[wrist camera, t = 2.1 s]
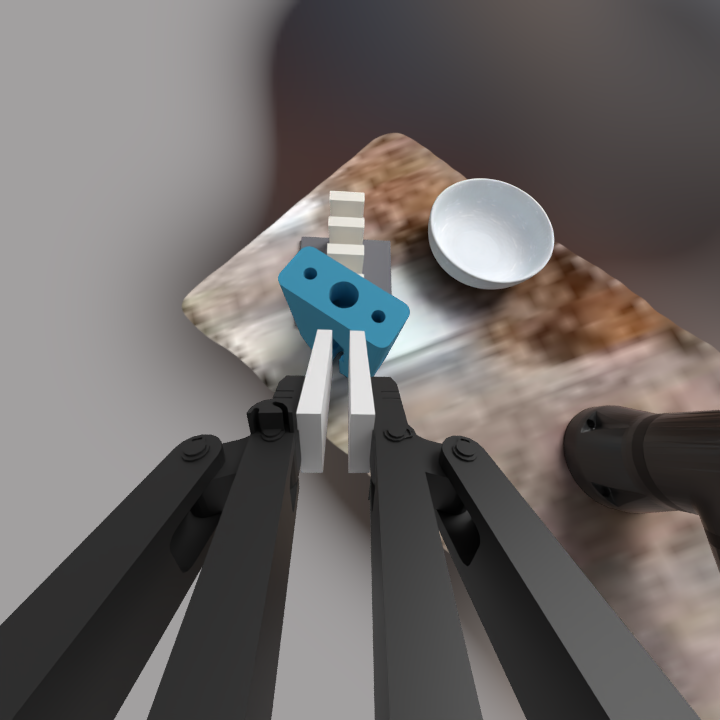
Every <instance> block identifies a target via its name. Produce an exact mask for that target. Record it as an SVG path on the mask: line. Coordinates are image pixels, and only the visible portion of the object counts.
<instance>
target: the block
mask: <svg viewBox="0 0 720 720" xmlns="http://www.w3.org/2000/svg"><path fill="white" fill-rule="evenodd" d="M278 281H279V283H280V286H281V288H282V291H283V293H284V296H285V298H286V300H287V303H288V305H289V308H290V310H291V312H292V315H293V317H294V320H295V322H296V324H297V327H298V329H299V332H300V334H301V336H302V337H303V339H304V340H305V341H306V343H307V344H308V346H309V347H310V348H311V350H312V349H313V345H314V342H315V338H316V334H317V330H332V361H333V359H334V358H335V356H336V355H337V354H338V353H339V352H342V351H343V352H344V355H342V356H341V358H340V359H339V369H340V373H341V374H343V375H344V376H346V377H347V378H348V373H349V344H350V331H364V332H365V339H366V347H367V355H368V363H369V370H370V377H373V376H374V375H375V373H376V372H377V370H378V369H379V367H380V366H381V364H382V363H383V361H384V360H385V358H386V356H387V355H388V353H389V351H390V349H391V347H392V346H393V344H394V342H395V340H396V338H397V337H398V335H399V333H400V331H401V329H402V328H403V326H404V324H405V322H406V320H407V319H408V317H409V315H410V310H409V307H408V306H407V305H406V304H405V303H404V302H402V301H400V300H399V299H397V298H395V297H394V296H392V295H391V294H389V293H387V292H386V291H384V290H382V289H381V288H379V287H378V286H376V285H374V284H373V283H371V282H370V281H368V280H366V279H365V278H363V277H361V276H360V275H358V274H357V273H355V272H353V271H352V270H350V269H348V268H347V267H345V266H344V265H342V264H340V263H339V262H337V261H335V260H334V259H332V258H331V257H329V256H327V255H326V254H324V253H322V252H321V251H319V250H318V249H316V248H314V247H311V246H307V247H304V248H302V249H301V250H300V251H299V252H298V253H297V254H296V256H295V257H294V258H293V259H292V260H291V261H290V262H289V263H288V265H287V266H286V267H285V268H284V269H283V270H282V271H281V273H280V274H279V276H278Z"/></svg>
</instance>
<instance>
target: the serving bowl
mask: <svg viewBox="0 0 720 720" xmlns="http://www.w3.org/2000/svg"><path fill="white" fill-rule="evenodd" d="M428 237H429V243H430V247H431V250H432V252H433V255H434V257H435V258H436V260H437V262H438V263H439V264H440V266H441V267H442V268H443V269H444V270H445V271H446V272H447V273H448V274H449V275H450V276H452V277H453V278H455V279H456V280H458V281H460V282H462V283H464V284H466V285H468V286H472V287H475V288H480V289H503V288H508V287H511V286H514V285H517V284H519V283H521V282H524V281H525V280H527V279H529V278H531V277H532V276H534V275H535V274H537V273H538V272H539V271H540V270H541V269H543V267H544V266H545V265H546V264H547V262H548V261H549V259H550V257H551V255H552V251H553V247H554V234H553V229H552V225H551V223H550V221H549V218H548V216H547V215H546V213H545V211H544V210H543V209H542V207H541V206H540V205H539V204H538V203H537V202H536V201H535V200H534V199H533V198H532V197H531V196H530V195H528V194H527V193H525V192H524V191H522V190H520V189H519V188H517V187H515V186H513V185H510V184H508V183H505V182H502V181H498V180H492V179H469V180H464V181H461V182H458V183H455V184H453V185H451V186H450V187H448V188H447V189H445V190H444V191H443V192H442V193H441V194H440V195H439V196H438V197H437V199H436V200H435V202H434V204H433V206H432V209H431V213H430V218H429V224H428Z"/></svg>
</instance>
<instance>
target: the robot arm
mask: <svg viewBox="0 0 720 720" xmlns="http://www.w3.org/2000/svg"><path fill="white" fill-rule="evenodd" d="M331 382H332V330H317V334H316V338H315V342H314V345H313V349H312V353H311V357H310V361H309V365H308V369H307V373H306V376H286V377H285V378H283V379H282V380H281V381H280V382H279V384H278V386H277V389H276V392H275V394H274V396H273V399H270V400H264V401H261V402H259V403H257V404H255V405H254V406H252V407H251V408H250V409H249V411H248V412H247V418H248V423H249V427H250V432H251V435H250V436H248V437H246V438H243V439H240V440H236V441H231V442H227V443H223V444H222V443H221V441H220V439H219V438H218V437H216V436H213V435H199V436H194V437H192V438H189V439H187V440H185V441H183V442H182V443H181V444H179V445H178V446H177V447H176V448H175V449H173V450H172V451H171V453H170V454H169V455H168V456H167V457H166V458H165V459H164V460H163V461H162V462H161V463H160V464H159V465H158V466H157V467H156V468H155V469H154V470H153V471H152V472H151V473H150V474H149V475H148V476H147V477H146V478H145V479H144V480H143V481H142V482H141V483H140V484H139V485H138V486H137V487H136V488H135V489H134V490H133V491H132V492H131V493H130V494H129V495H128V496H127V497H126V498H125V499H124V500H123V501H122V502H121V503H120V504H119V505H118V506H117V507H116V508H115V510H113V511H112V512H111V513H110V515H109V516H108V517H107V518H106V519H105V520H104V521H103V522H102V523H101V524H100V525H99V526H98V527H97V528H96V529H95V530H94V531H93V532H92V533H91V534H90V535H89V536H88V537H87V538H86V539H85V540H84V541H83V542H82V543H81V544H80V545H79V546H78V547H77V548H76V549H75V550H74V551H73V552H72V553H71V554H70V555H69V556H68V557H67V558H66V559H65V560H64V561H63V562H62V563H61V564H60V565H59V567H58V568H56V569H55V571H53V573H51V575H50V576H49V577H48V578H47V579H46V580H45V581H44V582H43V583H42V584H41V585H40V586H39V587H38V588H37V589H36V590H35V591H34V592H33V593H32V594H31V595H30V596H29V597H28V598H27V599H26V600H25V601H24V602H23V603H22V604H21V605H20V606H19V607H18V608H17V609H16V610H15V611H14V612H13V613H12V614H11V615H10V616H9V617H8V618H7V619H6V620H5V621H4V622H3V623H2V624H1V625H0V720H114V718H115V717H116V715H117V713H118V711H119V710H120V708H121V706H122V705H123V703H124V701H125V699H126V697H127V696H128V694H129V692H130V691H131V689H132V687H133V685H134V684H135V682H136V680H137V679H138V677H139V675H140V673H141V671H142V670H143V668H144V666H145V665H146V663H147V661H148V660H149V658H150V656H151V654H152V653H153V651H154V649H155V647H156V646H157V644H158V642H159V640H160V639H161V637H162V635H163V634H164V632H165V630H166V628H167V627H168V625H169V623H170V621H171V620H172V618H173V616H174V614H175V613H176V611H177V609H178V608H179V606H180V604H181V602H182V601H183V599H184V597H185V596H186V594H187V592H188V590H189V588H190V587H191V585H192V583H193V582H194V580H195V578H196V576H197V575H198V573H199V571H200V570H201V572H200V575H199V578H198V580H197V583H196V586H195V589H194V592H193V594H192V597H191V600H190V603H189V605H188V608H187V611H186V613H185V616H184V619H183V622H182V624H181V627H180V630H179V633H178V635H177V638H176V641H175V644H174V646H173V649H172V652H171V655H170V657H169V660H168V663H167V666H166V668H165V671H164V674H163V677H162V679H161V682H160V685H159V688H158V691H157V693H156V696H155V699H154V701H153V704H152V707H151V710H150V712H149V715H148V718H147V720H271V716H272V708H273V699H274V690H275V683H276V675H277V667H278V658H279V650H280V641H281V633H282V625H283V617H284V609H285V601H286V592H287V583H288V575H289V567H290V559H291V551H292V543H293V534H294V526H295V518H296V509H297V501H298V493H299V478H298V476H299V470H300V466H301V472H302V473H322V472H323V464H324V453H325V443H326V433H327V423H328V413H329V402H330V392H331ZM564 450H565V457H566V461H567V464H568V467H569V469H570V472H571V474H572V476H573V477H574V479H575V480H576V482H577V483H578V485H579V486H580V487H581V488H582V489H583V491H584V492H585V493H586V494H588V495H589V496H590V497H591V498H592V499H594V500H595V501H597V502H599V503H600V504H602V505H604V506H607V507H610V508H613V509H617V510H621V511H624V512H629V513H653V512H666V511H684V512H688V513H693V514H696V515H699V516H700V519H701V522H702V524H703V527H704V530H705V533H706V535H707V538H708V542H709V544H710V547H711V550H712V553H713V556H714V558H715V561H716V564H717V567H718V570H719V572H720V410H712V411H694V412H677V413H663V414H655V413H651V412H646V411H641V410H636V409H631V408H626V407H621V406H599V407H592V408H588V409H585V410H583V411H581V412H580V413H578V414H577V415H576V416H575V417H574V418H573V419H572V421H571V422H570V424H569V426H568V428H567V431H566V434H565V440H564ZM348 461H349V462H348V468H349V469H348V472H349V473H369V472H371V480H370V490H369V499H368V500H370V519H371V564H372V565H371V566H372V610H373V611H372V612H373V656H374V701H375V720H483V718H482V715H481V709H480V705H479V701H478V697H477V692H476V688H475V684H474V680H473V675H472V671H471V667H470V663H469V658H468V654H467V649H466V645H465V641H464V637H463V632H462V628H461V624H460V619H459V615H458V611H457V607H456V602H455V598H454V594H453V589H452V585H451V581H450V577H449V573H448V568H447V564H446V559H445V555H444V551H443V547H442V542H441V538H440V534H439V531H440V533H441V536H442V538H443V540H444V542H445V544H446V546H447V549H448V551H449V553H450V555H451V557H452V559H453V561H454V564H455V566H456V568H457V570H458V572H459V574H460V577H461V579H462V581H463V583H464V585H465V587H466V589H467V592H468V594H469V596H470V598H471V600H472V602H473V605H474V607H475V609H476V611H477V613H478V615H479V617H480V620H481V622H482V624H483V626H484V628H485V630H486V633H487V635H488V637H489V639H490V641H491V643H492V645H493V648H494V650H495V652H496V654H497V656H498V658H499V661H500V663H501V665H502V667H503V669H504V671H505V673H506V676H507V678H508V680H509V682H510V684H511V686H512V689H513V691H514V693H515V695H516V697H517V699H518V702H519V704H520V706H521V708H522V710H523V712H524V714H525V717H526V719H527V720H701V719H700V718H699V717H698V715H697V714H696V713H695V712H694V710H693V709H692V708H691V707H690V705H689V704H688V703H687V702H686V700H685V699H684V698H683V697H682V695H681V694H680V693H679V692H678V690H677V689H676V688H675V687H674V685H673V684H672V683H671V682H670V680H669V679H668V678H667V677H666V675H665V674H664V673H663V672H662V670H661V669H660V668H659V667H658V665H657V664H656V663H655V662H654V660H653V659H652V658H651V657H650V655H649V654H648V653H647V652H646V650H645V649H644V648H643V647H642V645H641V644H640V643H639V642H638V640H637V639H636V638H635V637H634V635H633V634H632V633H631V632H630V631H629V629H628V628H627V627H626V626H625V624H624V623H623V622H622V621H621V619H620V618H619V617H618V616H617V614H616V613H615V612H614V611H613V609H612V608H611V607H610V606H609V604H608V603H607V602H606V601H605V599H604V598H603V597H602V596H601V594H600V593H599V592H598V591H597V589H596V588H595V587H594V586H593V584H592V583H591V582H590V581H589V579H588V578H587V577H586V576H585V574H584V573H583V572H582V571H581V569H580V568H579V567H578V566H577V564H576V563H575V562H574V561H573V559H572V558H571V557H570V556H569V554H568V553H567V552H566V551H565V549H564V548H563V547H562V546H561V544H560V543H559V542H558V541H557V539H556V538H555V537H554V536H553V534H552V533H551V532H550V531H549V530H548V528H547V527H546V526H545V525H544V523H543V522H542V521H541V520H540V518H539V517H538V516H537V515H536V513H535V512H534V511H533V510H532V508H531V507H530V506H529V505H528V503H527V502H526V501H525V500H524V498H523V497H522V496H521V495H520V493H519V492H518V491H517V490H516V488H515V487H514V486H513V485H512V483H511V482H510V481H509V480H508V478H507V477H506V476H505V475H504V473H503V472H502V471H501V470H500V468H499V467H498V466H497V465H496V463H495V462H494V461H493V460H492V458H491V457H490V456H489V455H488V453H487V452H486V451H485V450H484V449H483V448H482V447H481V446H480V445H479V444H478V443H477V442H475V441H473V440H472V439H470V438H467V437H463V436H451V437H448V438H446V439H445V441H444V442H443V444H440V443H436V442H433V441H429V440H426V439H423V438H421V437H419V436H418V435H416V433H415V431H414V429H413V428H412V427H410V426H409V425H408V423H407V420H406V416H405V412H404V409H403V405H402V401H401V398H400V394H399V390H398V387H397V384H396V383H395V382H394V381H393V379H392V378H391V377H370V370H369V363H368V355H367V347H366V339H365V332H364V331H350V344H349V373H348ZM202 566H203V567H202ZM201 568H202V569H201Z"/></svg>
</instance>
